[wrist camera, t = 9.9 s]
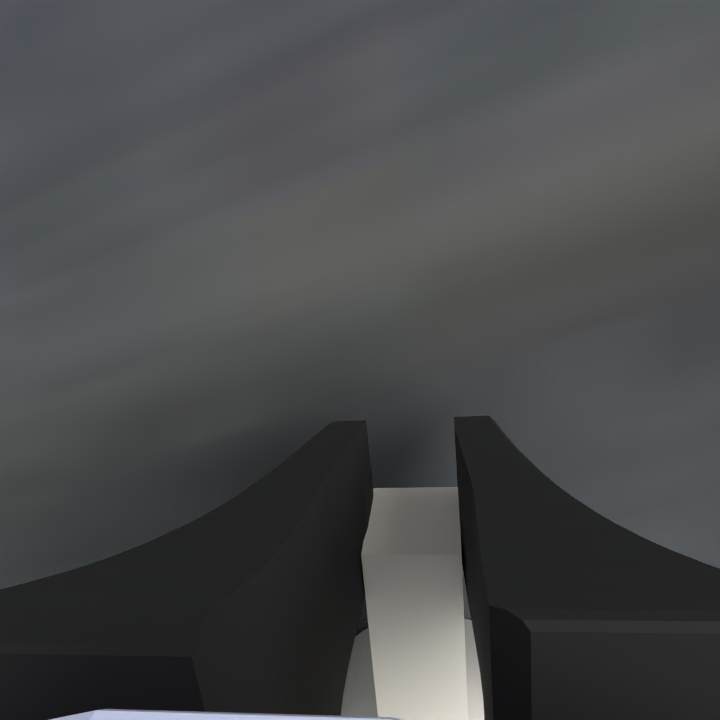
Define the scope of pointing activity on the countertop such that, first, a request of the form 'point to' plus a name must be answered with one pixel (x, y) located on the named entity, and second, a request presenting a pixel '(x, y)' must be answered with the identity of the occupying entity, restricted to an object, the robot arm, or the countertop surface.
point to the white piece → (414, 613)
